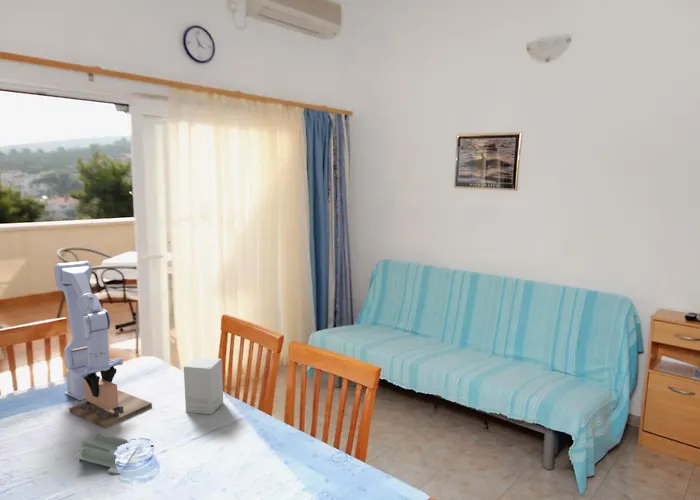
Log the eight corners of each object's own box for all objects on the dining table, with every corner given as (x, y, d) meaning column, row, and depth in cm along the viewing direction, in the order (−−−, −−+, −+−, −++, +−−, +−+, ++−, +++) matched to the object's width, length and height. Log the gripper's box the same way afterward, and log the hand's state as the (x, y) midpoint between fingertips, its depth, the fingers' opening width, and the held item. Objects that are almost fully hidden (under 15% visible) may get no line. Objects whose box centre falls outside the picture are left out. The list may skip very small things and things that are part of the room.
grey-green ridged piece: (68, 453, 125) (96, 423, 140) (62, 474, 126) (91, 442, 140) (126, 469, 126) (147, 437, 141) (120, 489, 127) (142, 455, 142)
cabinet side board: (69, 411, 157) (68, 403, 157) (116, 392, 171) (116, 385, 170) (104, 428, 148) (104, 419, 148) (151, 406, 161) (151, 398, 161)
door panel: (85, 400, 158) (84, 379, 157) (94, 396, 161) (93, 375, 160) (109, 410, 152) (107, 388, 151) (118, 406, 154) (117, 384, 153)
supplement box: (224, 402, 165) (223, 358, 163) (212, 415, 157) (210, 368, 154) (198, 399, 167) (196, 355, 165) (184, 412, 158) (182, 366, 156)
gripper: (82, 361, 145) (85, 406, 148) (128, 346, 158) (130, 388, 160) (68, 356, 149) (72, 400, 151) (114, 342, 161) (116, 383, 163)
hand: (101, 393), depth 156 cm, fingers closed on door panel, 3 cm apart
